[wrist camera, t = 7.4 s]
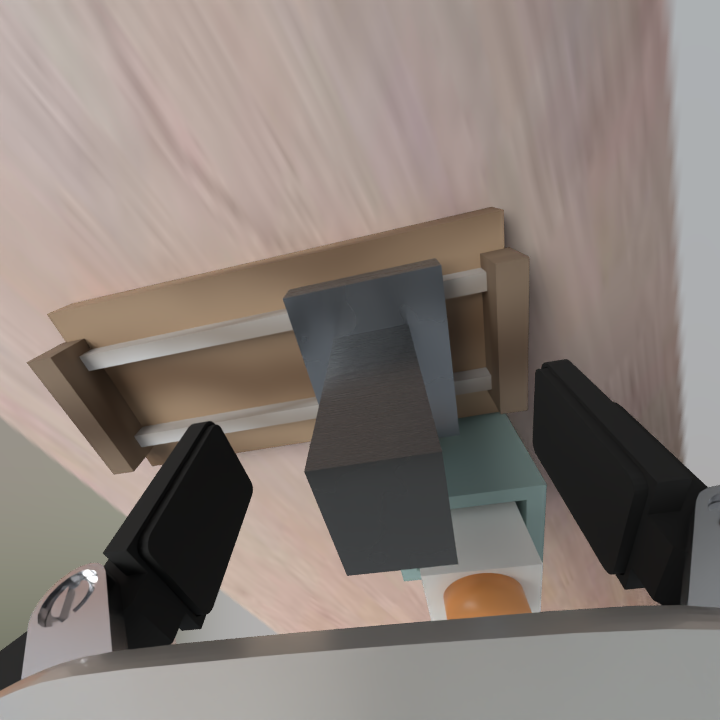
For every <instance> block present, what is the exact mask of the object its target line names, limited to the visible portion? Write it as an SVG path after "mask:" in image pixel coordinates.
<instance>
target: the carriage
mask: <svg viewBox="0 0 720 720" xmlns="http://www.w3.org/2000/svg"><path fill="white" fill-rule="evenodd" d="M283 302H284V305H285V308H286V311H287V313H288V316H289V319H290V322H291V325H292V328H293V331H294V334H295V337H296V340H297V343H298V346H299V349H300V352H301V355H302V358H303V360H304V363H305V366H306V369H307V372H308V375H309V378H310V381H311V384H312V387H313V390H314V393H315V396H316V399H317V402H318V404H319V408H318V412H317V417H316V421H315V426H314V430H313V435H312V439H311V444H310V448H309V453H308V457H307V462H306V466H305V471H304V472H305V474H306V477H307V479H308V482H309V484H310V487H311V489H312V491H313V494H314V496H315V499H316V501H317V504H318V506H319V508H320V511H321V513H322V516H323V518H324V521H325V523H326V525H327V528H328V530H329V533H330V535H331V538H332V540H333V542H334V545H335V547H336V550H337V552H338V555H339V557H340V559H341V562H342V564H343V567H344V569H345V572H346V574H347V576H349V575H359V574H369V573H378V572H388V571H398V570H407V569H417V568H426V567H436V566H446V565H455V564H458V558H457V551H456V544H455V537H454V530H453V523H452V517H451V510H450V503H449V496H448V489H447V482H446V475H445V468H444V461H443V454H442V449H441V445H440V441H439V438H443V437H449V436H456V435H460V433H459V424H458V415H457V405H456V396H455V387H454V377H453V368H452V359H451V350H450V340H449V331H448V322H447V313H446V303H445V294H444V285H443V276H442V266H441V264H440V263H439V261H438V260H437V259H436V258H433V259H428V260H424V261H419V262H414V263H410V264H405V265H400V266H396V267H391V268H387V269H382V270H377V271H373V272H368V273H364V274H359V275H354V276H350V277H345V278H340V279H336V280H331V281H327V282H322V283H317V284H313V285H308V286H304V287H299V288H294V289H290V290H288V292H287V293H286V295H285V296H284V297H283Z"/></svg>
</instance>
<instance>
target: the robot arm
mask: <svg viewBox="0 0 720 720" xmlns="http://www.w3.org/2000/svg"><path fill="white" fill-rule="evenodd" d="M533 447H534V450H535V453H536V455H537V456H538V458H539V460H540V461H541V463H542V465H543V466H544V468H545V470H546V472H547V473H548V475H549V477H550V478H551V480H552V482H553V483H554V485H555V487H556V488H557V490H558V492H559V493H560V495H561V497H562V499H563V500H564V502H565V504H566V505H567V507H568V509H569V510H570V512H571V514H572V515H573V517H574V519H575V520H576V522H577V524H578V526H579V527H580V529H581V531H582V532H583V534H584V536H585V537H586V539H587V541H588V542H589V544H590V546H591V547H592V549H593V551H594V553H595V554H596V556H597V558H598V559H599V561H600V563H601V564H602V566H603V567H604V569H605V570H606V571H607V572H608V573H609V574H616V576H617V578H618V579H619V581H620V583H621V584H622V586H623V587H624V589H636V588H645V589H646V590H647V592H648V593H649V595H650V596H651V598H652V599H653V600H654V601H656V602H658V604H657V606H625V607H609V608H594V609H578V610H562V611H547V612H535V613H523V614H510V615H498V616H486V617H474V618H462V619H450V620H438V621H426V622H414V623H402V624H391V625H380V626H368V627H357V628H345V629H334V630H323V631H311V632H300V633H289V634H278V635H267V636H257V637H246V638H236V639H226V640H214V641H204V642H193V643H183V644H176V641H175V636H176V634H177V631H178V629H179V628H180V629H181V630H182V631H183V630H194V629H201V628H202V625H203V622H204V620H205V617H206V614H208V613H210V611H211V610H212V608H213V606H214V603H215V600H216V597H217V594H218V592H219V589H220V586H221V583H222V580H223V577H224V574H225V572H226V569H227V566H228V563H229V560H230V557H231V554H232V551H233V548H234V546H235V543H236V540H237V537H238V534H239V531H240V528H241V525H242V523H243V520H244V517H245V514H246V511H247V508H248V505H249V502H250V499H251V497H252V493H253V486H252V483H251V481H250V479H249V477H248V475H247V474H246V472H245V470H244V468H243V466H242V465H241V463H240V461H239V459H238V457H237V455H236V454H235V452H234V450H233V448H232V446H231V445H230V443H229V441H228V439H227V437H226V436H225V434H224V432H223V430H222V428H221V427H220V426H219V425H216V424H215V423H214V422H212V421H206V422H200V423H194V424H191V425H190V426H189V427H188V429H187V430H186V432H185V433H184V435H183V436H182V438H181V439H180V440H179V442H178V443H177V445H176V446H175V448H174V449H173V451H172V452H171V454H170V455H169V457H168V458H167V460H166V461H165V462H164V464H163V465H162V467H161V468H160V470H159V471H158V473H157V474H156V476H155V477H154V479H153V480H152V482H151V483H150V485H149V486H148V487H147V489H146V490H145V492H144V493H143V495H142V496H141V498H140V499H139V501H138V502H137V504H136V505H135V507H134V508H133V509H132V511H131V512H130V514H129V515H128V517H127V518H126V520H125V521H124V523H123V524H122V526H121V527H120V529H119V530H118V532H117V533H116V535H115V536H114V537H113V539H112V540H111V542H110V543H109V545H108V546H107V548H106V549H105V551H104V552H103V554H104V555H105V556H106V557H107V558H108V561H107V562H106V564H105V565H104V566H103V565H101V564H99V563H89V564H86V565H83V566H80V567H78V568H77V569H75V570H73V571H71V572H69V573H68V574H67V575H65V576H64V577H63V578H61V579H60V580H59V581H57V582H56V584H54V585H53V586H52V587H51V588H50V589H49V590H48V591H47V592H46V593H45V595H44V596H43V597H42V598H41V600H40V601H39V602H38V604H37V605H36V607H35V609H34V610H33V612H32V614H31V617H30V621H29V624H28V631H27V632H25V633H24V634H23V635H21V636H20V637H19V638H17V639H16V640H15V641H13V642H12V643H11V644H9V645H8V646H6V647H5V648H4V649H2V650H1V651H0V720H720V485H718V486H713V487H707V486H706V485H705V484H704V483H703V482H702V481H700V480H699V479H698V478H697V477H696V476H695V475H694V474H693V473H692V472H691V471H690V470H689V469H688V468H687V467H686V466H684V465H683V464H682V463H681V462H680V461H679V460H678V459H677V458H676V457H675V456H674V455H673V454H672V453H671V452H670V451H668V450H667V449H666V448H665V447H664V446H663V445H662V444H661V443H660V442H659V441H658V440H657V439H656V438H655V437H654V436H652V435H651V434H650V433H649V432H648V431H647V430H646V429H645V428H644V427H643V426H642V425H641V424H640V423H639V422H638V421H636V420H635V419H634V418H633V417H632V416H631V415H630V414H629V413H628V412H627V411H626V410H625V409H624V408H623V407H621V406H620V405H619V404H617V403H614V402H612V401H611V400H610V399H609V398H608V397H607V396H606V395H605V394H604V393H603V392H602V391H601V390H600V389H599V388H598V387H597V386H596V385H594V384H593V383H592V382H591V381H590V380H589V379H588V378H587V377H586V376H585V375H584V374H583V373H582V372H581V371H580V370H579V369H578V368H577V367H576V366H575V365H573V364H572V363H571V362H570V361H569V360H567V359H564V360H558V361H552V362H546V363H544V364H543V365H542V367H541V369H538V370H536V373H535V395H534V421H533Z"/></svg>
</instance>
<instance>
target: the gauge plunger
mask: <svg viewBox="0 0 720 720" xmlns="http://www.w3.org/2000/svg"><path fill="white" fill-rule="evenodd" d="M450 510H451V517H452V523H453V530H454V537H455V544H456V551H457V558H458V564H455V565H446V566H436V567H426V568H420V574H421V579H422V583H423V588H424V592H425V596H426V600H427V604H428V609H429V613H430V617H431V621H438V620H450V619H462V618H474V617H486V616H498V615H510V614H523V613H535V612H540V610H541V591H542V572H543V563H542V561H541V559H540V556H539V554H538V552H537V550H536V548H535V545H534V543H533V541H532V539H531V536H530V534H529V532H528V530H527V528H526V525H525V523H524V521H523V519H522V516H521V514H520V512H519V510H518V508H517V505H516V503H515V501H513V502H505V503H497V504H489V505H481V506H473V507H465V508H457V509H450Z"/></svg>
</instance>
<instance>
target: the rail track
mask: <svg viewBox="0 0 720 720" xmlns="http://www.w3.org/2000/svg"><path fill="white" fill-rule="evenodd" d="M433 258H436V259H437V260H438V261H439V263H440V264H441V266H442V276H443V285H444V294H445V303H446V313H447V322H448V331H449V340H450V350H451V359H452V368H453V377H454V387H455V396H456V405H457V415H458V418H463V417H469V416H476V415H482V414H488V413H495V412H500V414H506V413H512V412H519V411H525V410H528V333H529V257H528V256H526V255H524V254H522V253H520V252H518V251H516V250H514V249H512V248H510V247H508V248H504V210H502V209H498V208H494V207H489V208H485V209H481V210H476V211H472V212H468V213H463V214H459V215H455V216H450V217H446V218H442V219H437V220H433V221H429V222H424V223H420V224H416V225H411V226H407V227H403V228H398V229H394V230H390V231H385V232H381V233H377V234H372V235H368V236H364V237H359V238H355V239H351V240H346V241H342V242H338V243H333V244H329V245H325V246H320V247H316V248H312V249H307V250H303V251H299V252H294V253H290V254H286V255H281V256H277V257H273V258H268V259H264V260H260V261H255V262H251V263H247V264H242V265H238V266H234V267H229V268H225V269H220V270H216V271H212V272H207V273H203V274H199V275H194V276H190V277H186V278H181V279H177V280H173V281H168V282H164V283H160V284H155V285H151V286H147V287H142V288H138V289H134V290H129V291H125V292H121V293H116V294H112V295H108V296H103V297H99V298H95V299H90V300H86V301H82V302H77V303H73V304H70V305H68V306H65V307H63V308H60V309H58V310H56V311H53V312H51V313H49V314H47V315H48V317H49V318H50V319H51V321H52V322H53V324H54V325H55V327H56V328H57V330H58V331H59V332H60V334H61V335H62V337H63V338H64V340H65V341H66V343H62V344H60V345H58V346H56V347H55V348H53V349H51V350H49V351H47V352H45V353H43V354H42V355H40V356H38V357H36V358H34V359H32V360H30V361H29V362H27V364H28V365H29V366H30V367H31V369H32V370H33V371H34V373H35V374H36V375H37V376H38V378H39V379H40V380H41V382H42V383H43V384H44V385H45V387H46V388H47V389H48V391H49V392H50V393H51V394H52V396H53V397H54V398H55V400H56V401H57V402H58V403H59V405H60V406H61V407H62V409H63V410H64V411H65V412H66V414H67V415H68V416H69V418H70V419H71V420H72V421H73V423H74V424H75V425H76V427H77V428H78V429H79V430H80V432H81V433H82V434H83V436H84V437H85V438H86V439H87V441H88V442H89V443H90V445H91V446H92V447H93V448H94V450H95V451H96V452H97V454H98V455H99V456H100V457H101V459H102V460H103V461H104V463H105V464H106V465H107V466H108V468H109V469H110V470H111V472H112V473H113V474H121V473H127V472H133V471H135V469H136V468H137V467H138V466H139V464H140V463H141V462H142V461H143V459H144V458H145V457H146V458H147V459H148V461H149V462H150V464H151V465H152V466H156V465H163V464H164V462H165V461H166V460H167V458H168V457H169V455H170V454H171V452H172V451H173V449H174V448H175V446H176V445H177V443H178V442H179V440H180V439H181V438H182V436H183V435H184V433H185V432H186V430H187V429H188V427H189V426H190V425H191V424H194V423H200V422H206V421H212V422H214V423H215V424H216V425H219V426H220V427H221V428H222V430H223V432H224V434H225V436H226V437H227V439H228V441H229V443H230V445H231V446H232V448H233V450H234V452H235V453H239V452H246V451H252V450H259V449H265V448H271V447H278V446H284V445H290V444H297V443H303V442H310V441H311V439H312V435H313V430H314V426H315V421H316V417H317V412H318V408H319V404H318V402H317V399H316V396H315V393H314V390H313V387H312V384H311V381H310V378H309V375H308V372H307V369H306V366H305V363H304V360H303V358H302V355H301V352H300V349H299V346H298V343H297V340H296V337H295V334H294V331H293V328H292V325H291V322H290V319H289V316H288V313H287V311H286V308H285V305H284V302H283V297H284V296H285V295H286V293H287V292H288V290H290V289H294V288H299V287H304V286H308V285H313V284H317V283H322V282H327V281H331V280H336V279H340V278H345V277H350V276H354V275H359V274H364V273H368V272H373V271H377V270H382V269H387V268H391V267H396V266H400V265H405V264H410V263H414V262H419V261H424V260H428V259H433Z"/></svg>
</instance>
